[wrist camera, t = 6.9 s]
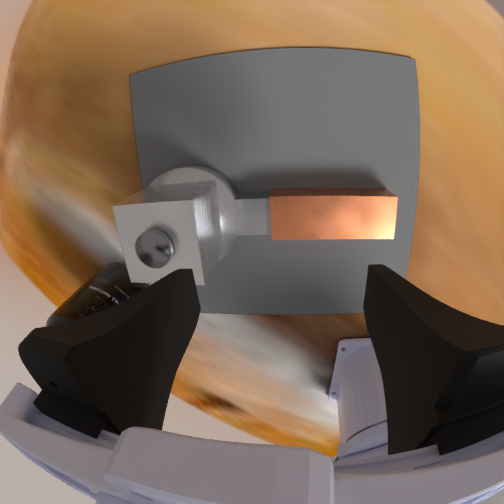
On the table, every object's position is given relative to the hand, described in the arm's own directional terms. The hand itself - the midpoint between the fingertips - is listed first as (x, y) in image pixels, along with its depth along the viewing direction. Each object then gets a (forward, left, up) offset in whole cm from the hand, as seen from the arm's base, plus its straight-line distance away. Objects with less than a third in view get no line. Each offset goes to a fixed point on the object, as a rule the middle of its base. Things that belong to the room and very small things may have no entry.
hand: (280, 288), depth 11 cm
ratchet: (+1, +1, -9) cm, 9 cm away
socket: (+1, +6, -7) cm, 9 cm away
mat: (+2, 0, -9) cm, 9 cm away
